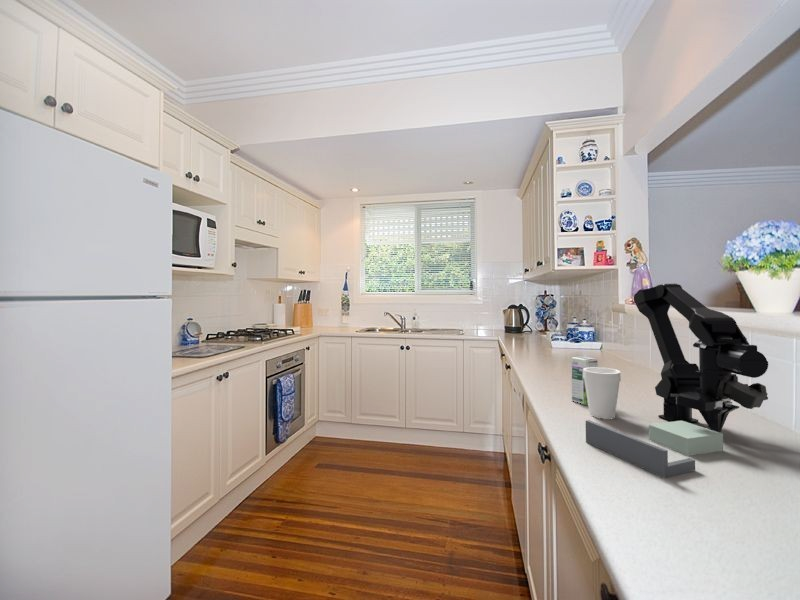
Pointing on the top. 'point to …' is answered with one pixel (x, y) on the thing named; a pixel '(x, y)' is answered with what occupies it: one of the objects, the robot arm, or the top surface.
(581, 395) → the syrup box
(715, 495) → the top surface
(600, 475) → the top surface
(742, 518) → the top surface
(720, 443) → the carton
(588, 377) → the foam cup
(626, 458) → the stand
